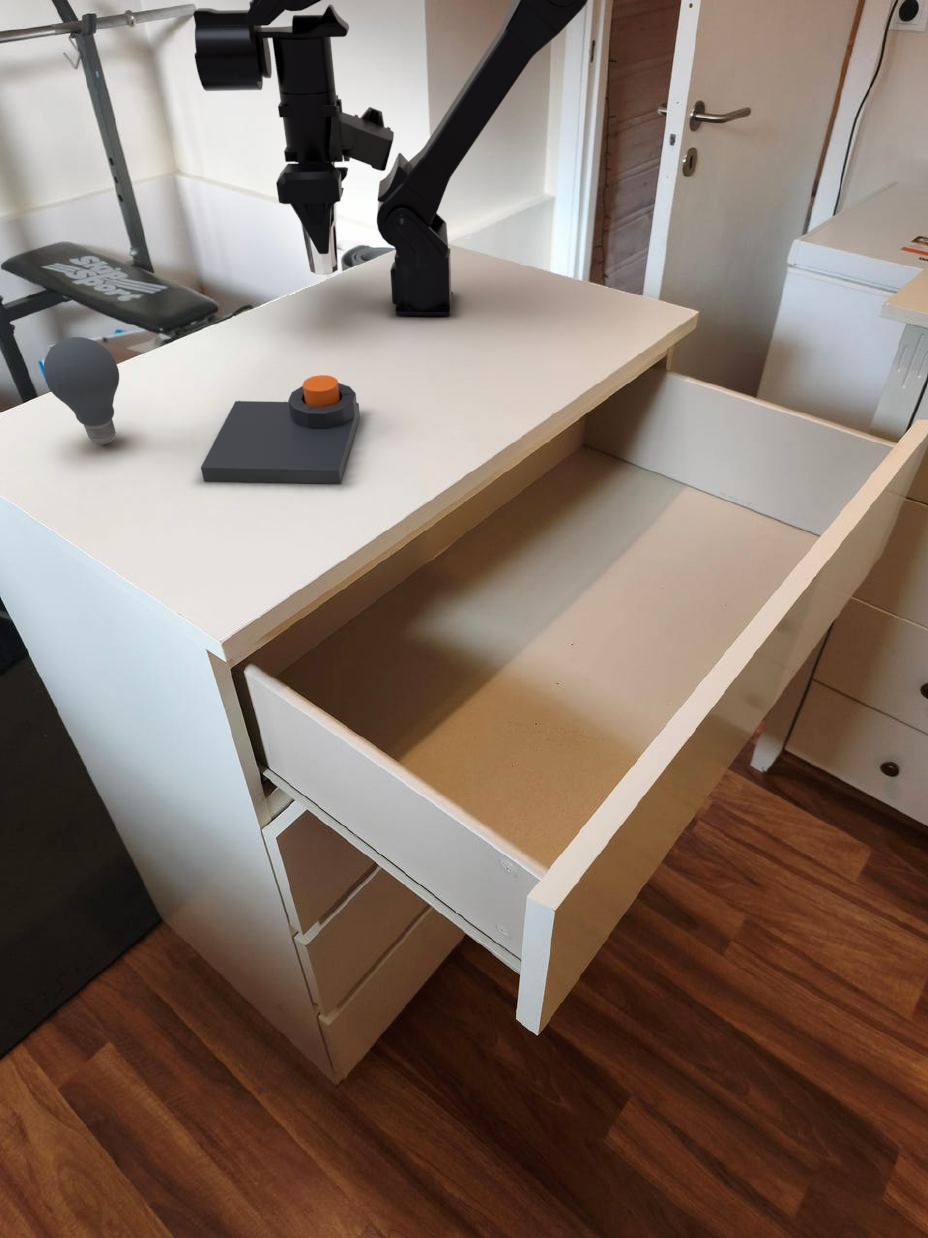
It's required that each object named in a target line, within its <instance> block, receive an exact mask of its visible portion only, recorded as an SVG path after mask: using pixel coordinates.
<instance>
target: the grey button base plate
mask: <svg viewBox="0 0 928 1238" xmlns="http://www.w3.org/2000/svg"><path fill="white" fill-rule="evenodd" d="M338 388H339V397H340V400H339V402H337V403H336V404H333V405H329V406H325V407H313V406H310V405H307V404H306V403H305V397H304V390H303V385H301V386H300V387H298V388H296V389H295V390H293V391H292V392H291V393H290V395H289V398H288V400H287V401H260V400H259V401H258V400H257V401H255V400H254V401H253V400H250V401H249V400H248V401H247V400H235V401H234V403H233V405H232V407H231V409H230V410H229V412H228V414H227V417H226V418H225V421H224V422H223V424H222V426H221V428H220V430H219V431H218V434H217V435H216V438H215V440H214V441H213V443H212V445H211V447H210V449H209V451H208V453H207V454H206V456H205V458H204V460H203V463H202V464H201V466H200V470H201V475H202V478H203V481H204V482H231V483H232V482H237V483H282V484H286V483H287V484H288V483H289V484H329V485H330V484H331V485H332V484H335V485H336V484H337V485H338V484H339V485H340V484H341V483H342V480H343V476H344V472H345V470H346V466H347V462H348V459H349V456H350V451H351V448H352V445H353V441H354V437H355V435H356V431H357V427H358V424H359V420H360V417H361V411H360V403H359V402H358V401H357V393H356V392H355V390H353V388H352V387H351V386H350V385H347V384H344V383H341V382H338Z"/></svg>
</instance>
